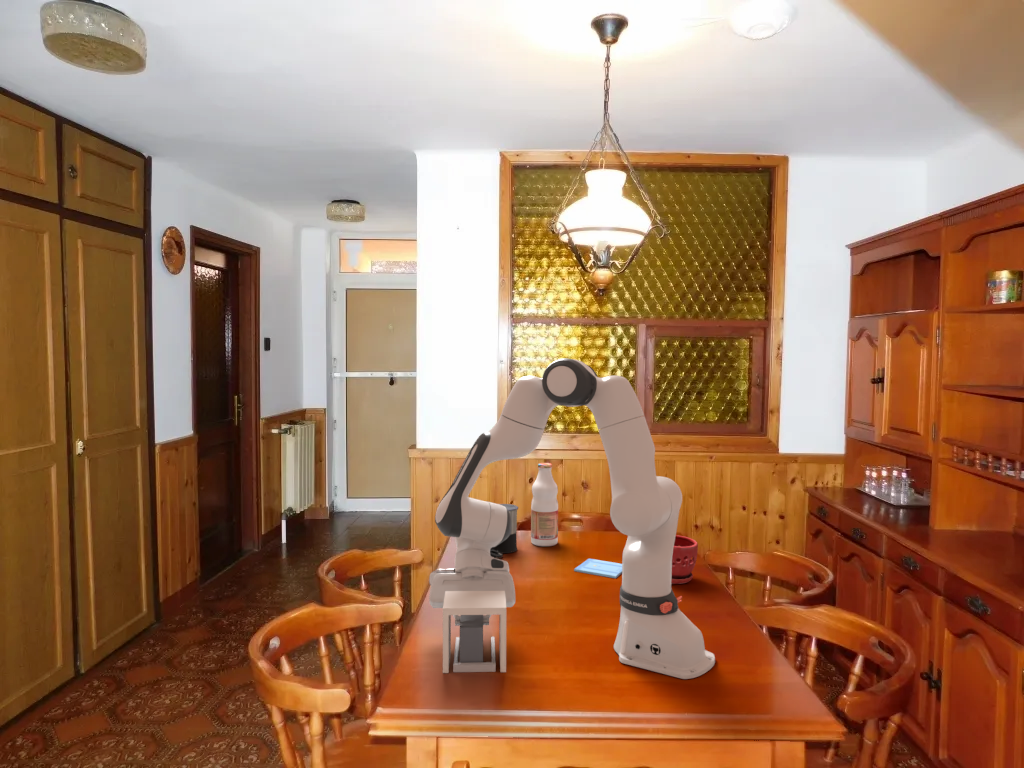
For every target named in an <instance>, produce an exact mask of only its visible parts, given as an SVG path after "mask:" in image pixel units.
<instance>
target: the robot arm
mask: <svg viewBox="0 0 1024 768" xmlns="http://www.w3.org/2000/svg"><path fill="white" fill-rule="evenodd" d="M559 406H564V407H568V408H576V407H582V406H585V407H587V408H588V409H589V410H590V412H591V413H592V416H593V418H594V421H595V424H596V427H597V429H598V434H599V436H600V437H599V438H600V440H601V443H602V446H603V449H604V453H605V455H606V460H607V464H608V469H609V477H610V479H609V480H610V488H611V504H610V510H609V515H610V521H611V522H612V524H613V525H614V527H615V529H616V530H617V531H619V532H620V533H621V534H622V535H626V536H627V538H626V539H627V540H626V542H625V545H624V548H623V551H622V554H621V555H622V559H621V560H622V561H621V562H622V563H621V564H622V574H621V585H620V588H619V605H620V615H619V616H620V617H619V622H618V623H619V624H618V628H617V633H616V637H615V641H614V644H613V649H614V651H615V652H616V654H617V655H618V660H619V662H620V663H622V664H625V665H629V666H632V667H636V668H640V669H643V670H648V671H651V672H655V673H658V674H663V675H666V676H670V677H674V678H678V679H682V680H688V679H694V678H697V677H700V676H702V675H704V674H705V673H707V672H708V671H710V670H711V669H712V668H713V667H714V666H715V663H716V657H715V653H713V652H711V651H708V650H707V649H705V648H706V647H705V640H704V636H703V633H702V631H701V630H700V629H699V628H698V627H697V626H696V624H694V623H693V622H692V621H691V620H690V619H689V618H688V617H687V616H686V615H685V614H684V612H682V611H681V609H680V608H679V603H680V602H682V601H683V600H682V599H683V596H682V595H680V596H678V597H676V596H675V592H674V591H673V588H672V584H671V579H672V555H673V547H674V542H675V537H676V535H677V530H678V524H679V515H680V509H681V506H682V503H683V494H682V490H681V487H680V486H679V484H677V482H675V481H674V480H673V479H671V478H669V477H666V476H662V475H661V476H659V475H657V471H656V461H655V459H656V458H655V456H656V455H655V454H656V446H655V443H654V440H653V436H652V435H651V431H650V427H649V425H648V422H647V419H646V416H645V413H644V411H643V410H644V409H643V407H642V405H641V402H640V400H639V397H638V395H637V394H636V392H635V390H634V387H632V385H631V383H630V381H629V380H628V378H626V377H624V376H622V375H621V376H620V375H607V376H604V377H599V376H598V375H597V372H596V371H595V369H594V368H592V367H591V366H590V365H588V364H587V363H585V362H584V361H581V360H579V359H574V358H568V357H567V358H566V357H565V358H559V359H557V360H554V361H553V362H551V363H550V364H548V366H547V367H546V369H545V370H544V371H543V374H542V377H538V376H534V375H523V376H521V377H520V378H518V379H517V381H516V382H515V383H514V385H513V387H512V388H511V391H510V392H509V394H508V396H507V398H506V400H505V402H504V405H503V407H502V410H501V414H500V416H499V419H498V420H497V422H496V423H495V424H494V426H493V427H492V428H490V429H489V430H488V431H486V432H483V433H481V434H480V435H479V436H478V437H477V439H476V440H475V441H474V443H473V444H472V446H471V448H470V449H469V452H468V454H467V456H466V457H465V459H464V460H463V463H462V465H461V466H460V468H459V470H458V472H457V473H456V476H455V478H454V479H453V481H452V483H451V485H450V487H449V488H448V490H447V491H446V493H445V494H444V495H443V497H442V499H441V500H440V502H439V504H438V506H437V508H436V512H435V516H434V522H435V525H436V527H437V528H438V530H439V531H440V532H441V534H442V535H443V536H445V537H450V538H455V545H456V546H455V547H456V551H455V555H454V568H436V569H435V570H433V571H432V572H430V574H429V576H428V577H429V579H428V582H429V586H430V591H429V596H428V597H429V598H428V599H429V601H428V602H429V605H430V606H431V607H432V608H433V609H443V603H444V597H445V591H505V598H506V608H512V607H514V605H515V604H516V589H515V582H514V579H513V576H512V574H511V573H510V565H509V563H508V562H509V561H507V560H503V559H501V558H500V559H499V558H497V557H496V558H494V557H492V556H491V555H490V549H491V548H492V547H496V546H497V545H499V544H500V543H502V542H503V541H505V540H506V539H507V538H508V537H509V535H510V533H511V527H512V519H511V515H510V513H509V511H508V509H507V508H506V507H505V506H503V505H500V504H501V503H495V502H491V501H487V500H486V501H484V500H482V499H477V498H473V497H471V496H470V497H469V495H470V494H471V492H472V490H473V489H474V486H475V484H476V482H477V480H478V479H479V477H480V475H481V473H482V472H483V470H484V469H485V468H486V467H487V466H488V465H490V464H492V463H495V462H498V461H499V462H500V461H503V460H513V459H519V458H523V457H524V456H525V457H526V456H527V455H529V454H531V453H533V452H534V451H535V450H537V447H538V446H539V444H540V442H541V440H542V437H543V434H544V431H545V430H546V425H547V422H548V419H549V418H550V417H549V416H550V415H551V413H552V411H553V410H554V409H555V408H556V407H559ZM452 616H453V618H454V626H458V627H460V618H461V615H452ZM491 617H492V615H483V626H490V619H491Z"/></svg>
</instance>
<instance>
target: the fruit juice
mask: <svg viewBox="0 0 1024 768" xmlns="http://www.w3.org/2000/svg"><path fill="white" fill-rule="evenodd" d="M537 469H538V473H537V476H536V479H535V481H534V482H533V483H532V486H531V493H532V499H531V503H530V505H531V506H530V511H531V513H530V517H531V518H530V523H531V524H530V541H531V543H532V545H534V546H537V547H552V546H556V545H557V544H558V539H559V502H558V499H557V495H558V493H559V489H558V487H559V486H558V485H557V483H556V481H555V480H554V476H553V473H552V469H553V464H552V463H551V462H540V463H538V464H537Z"/></svg>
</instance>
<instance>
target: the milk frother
mask: <svg viewBox="0 0 1024 768" xmlns="http://www.w3.org/2000/svg"><path fill="white" fill-rule="evenodd" d="M499 504H500V505H503V506H505V507H506V508H507V509H508V511H509V513H510V515H511V519H512V527H511V533H510V535H509V537H508V538H507V539H506V540H505V541H503V542H502V543H500V544H499V545H497V546H496V547H492V548H491V549H490V555H491V557H493V558H497V559H499V558H500V559H501V558H503V557H504V555H503V554H509V553H515V552H517V551H518V547H517V545H518V544H517V529H518V528H517V527H518V526H517V521H518V517H517V516H518V510H519V506H517V505H515V504H511V503H499Z"/></svg>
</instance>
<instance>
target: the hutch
mask: <svg viewBox="0 0 1024 768" xmlns="http://www.w3.org/2000/svg"><path fill="white" fill-rule="evenodd" d="M453 615H458V616H461V615H491V616H494V615H495V616H496V615H498V616H499V621H498V622H499V624H498V625H499V628H498V629H499V630H498V631H499V632H498V633H499V635H498V636H499V638H498V639H499V644H498V646H499V647H498V648H499V650H498V652H499V654H498V655H499V668H500V669H499V671H500V673H507V607H506V598H505V591H445V597H444V603H443V608H442V674H449V670H450V664H451V653H452V650H451V649H452V645H451V643H452V641H451V638H452V637H451V634H452V633H451V630H452V629H451V628H452V627H451V626H452V625H451V623H452V622H451V621H452V620H451V618H452V616H453ZM490 645H491V646H490V648H491V649H490V651H491V652H490V654H491V661H486V662H484V661H483V662H472V663H460V662H459V655H460V636H455V645H454V656H453V657H454V659H453V665H452V666H453V667H452V668H453V669H452V671H453V673H487V672H489V673H490V672H491V673H492V672H493V673H495V672H496V668H497V667H496V665H497V664H496V663H497V662H496V639H495V636H491V637H490Z"/></svg>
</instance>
